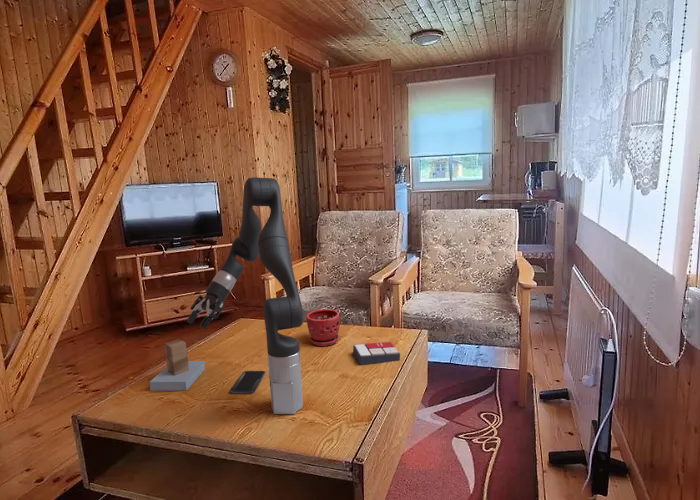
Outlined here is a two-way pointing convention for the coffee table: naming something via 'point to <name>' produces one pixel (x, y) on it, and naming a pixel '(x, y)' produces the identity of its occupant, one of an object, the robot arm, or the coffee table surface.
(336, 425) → the coffee table surface
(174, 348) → the walnut block
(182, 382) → the base board
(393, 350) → the calculator
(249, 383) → the phone
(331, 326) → the plant pot
